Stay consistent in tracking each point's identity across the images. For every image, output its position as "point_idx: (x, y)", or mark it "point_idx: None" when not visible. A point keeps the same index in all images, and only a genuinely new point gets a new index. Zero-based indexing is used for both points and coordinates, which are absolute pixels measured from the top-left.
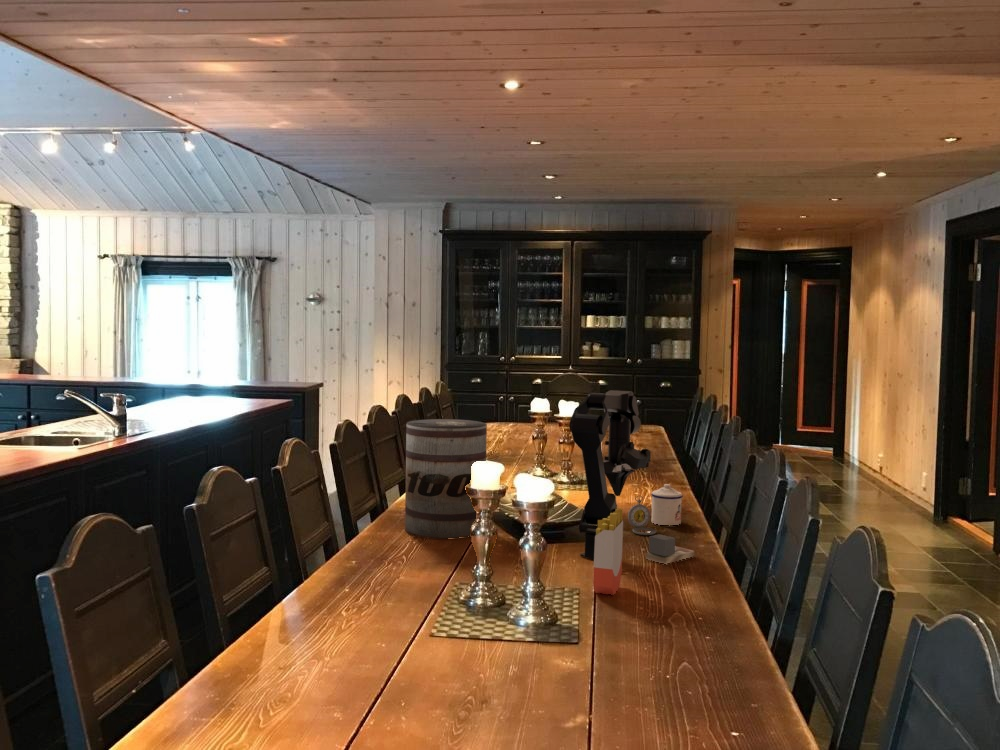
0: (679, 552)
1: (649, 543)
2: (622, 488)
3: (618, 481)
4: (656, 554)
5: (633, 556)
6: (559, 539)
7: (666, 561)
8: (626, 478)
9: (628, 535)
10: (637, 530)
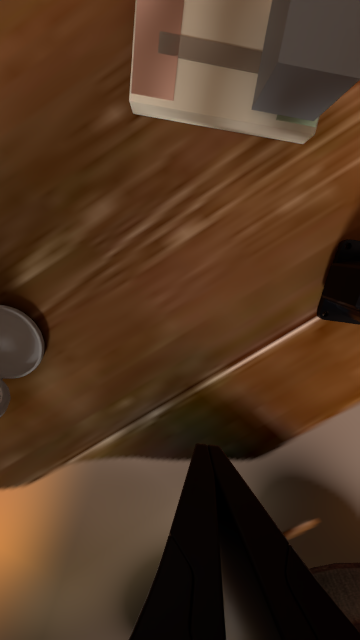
0: (209, 19)
1: (337, 97)
2: (188, 487)
3: (319, 599)
4: None
5: (288, 204)
6: (252, 451)
7: None
8: (139, 628)
9: (72, 358)
10: (8, 366)
